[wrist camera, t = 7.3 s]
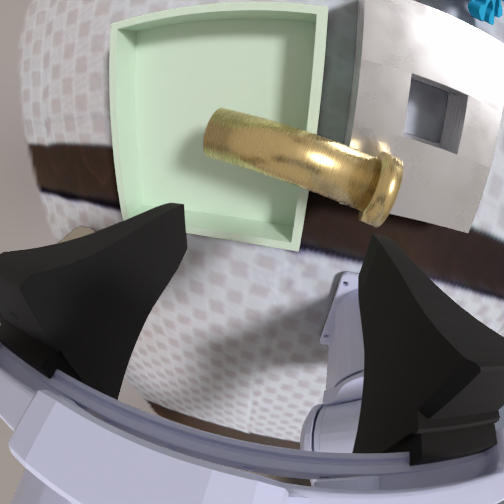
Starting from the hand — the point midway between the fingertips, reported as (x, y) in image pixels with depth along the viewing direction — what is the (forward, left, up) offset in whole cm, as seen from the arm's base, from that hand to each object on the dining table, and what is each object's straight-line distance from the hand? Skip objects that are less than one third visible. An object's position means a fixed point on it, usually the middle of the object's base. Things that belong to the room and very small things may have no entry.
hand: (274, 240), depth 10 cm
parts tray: (+3, +6, -10) cm, 12 cm away
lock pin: (+2, +4, -6) cm, 8 cm away
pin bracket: (+6, -8, -10) cm, 14 cm away
